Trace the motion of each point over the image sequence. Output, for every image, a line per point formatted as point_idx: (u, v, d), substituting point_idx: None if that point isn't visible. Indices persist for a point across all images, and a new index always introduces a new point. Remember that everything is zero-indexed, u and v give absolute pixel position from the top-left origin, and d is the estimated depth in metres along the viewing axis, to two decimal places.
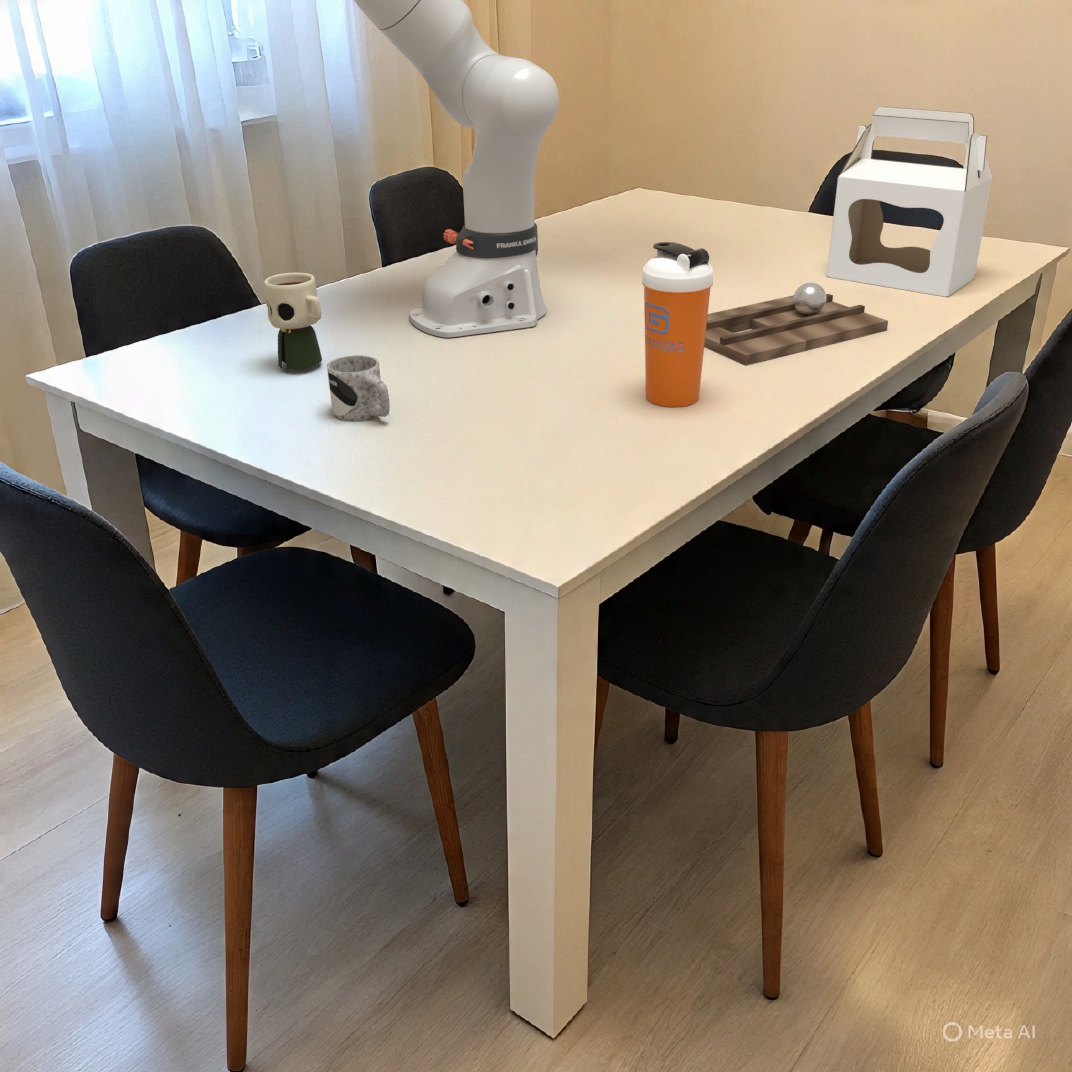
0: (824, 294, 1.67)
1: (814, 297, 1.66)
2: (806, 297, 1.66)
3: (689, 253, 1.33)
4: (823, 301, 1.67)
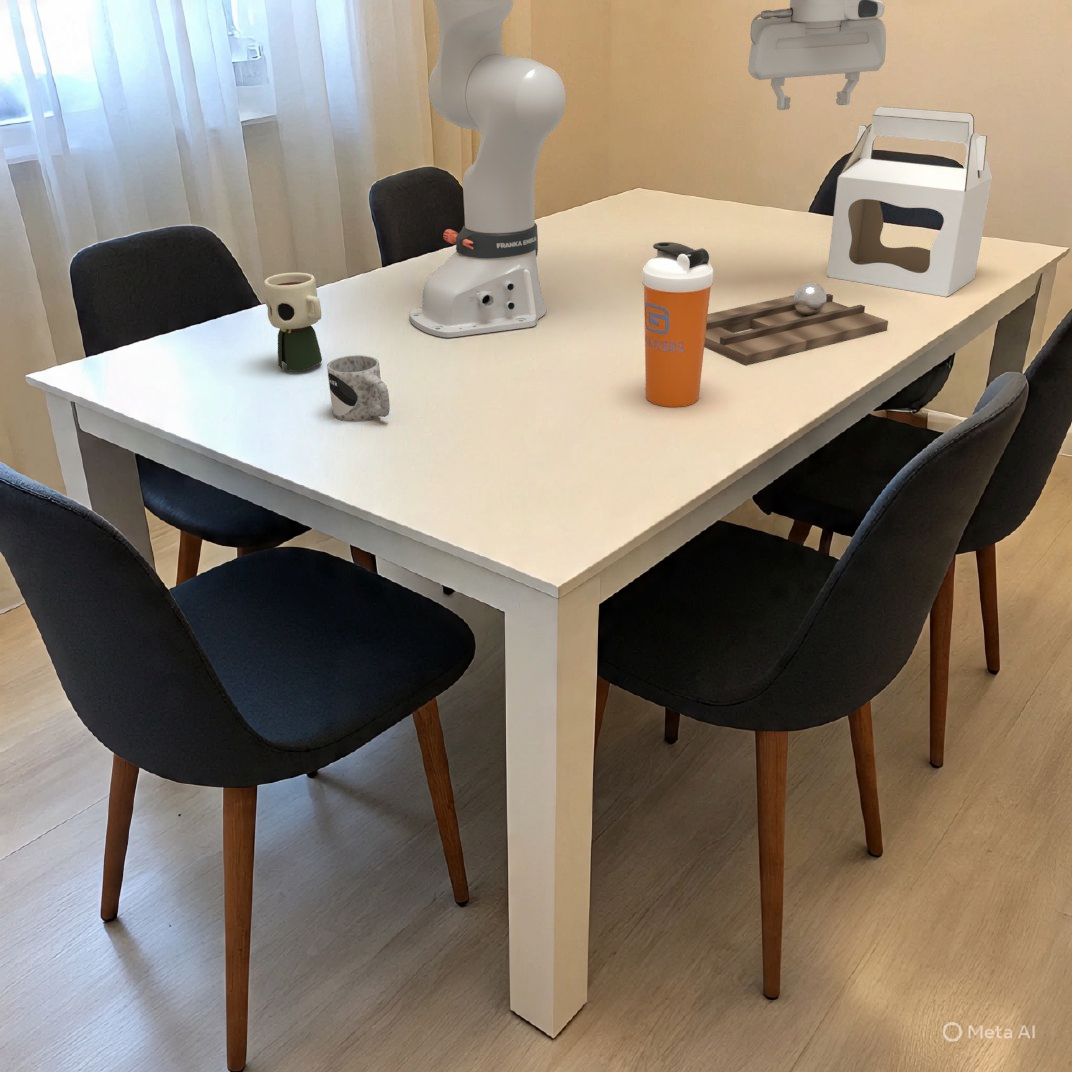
0: (824, 294, 1.67)
1: (814, 297, 1.66)
2: (806, 297, 1.66)
3: (689, 253, 1.33)
4: (823, 301, 1.67)
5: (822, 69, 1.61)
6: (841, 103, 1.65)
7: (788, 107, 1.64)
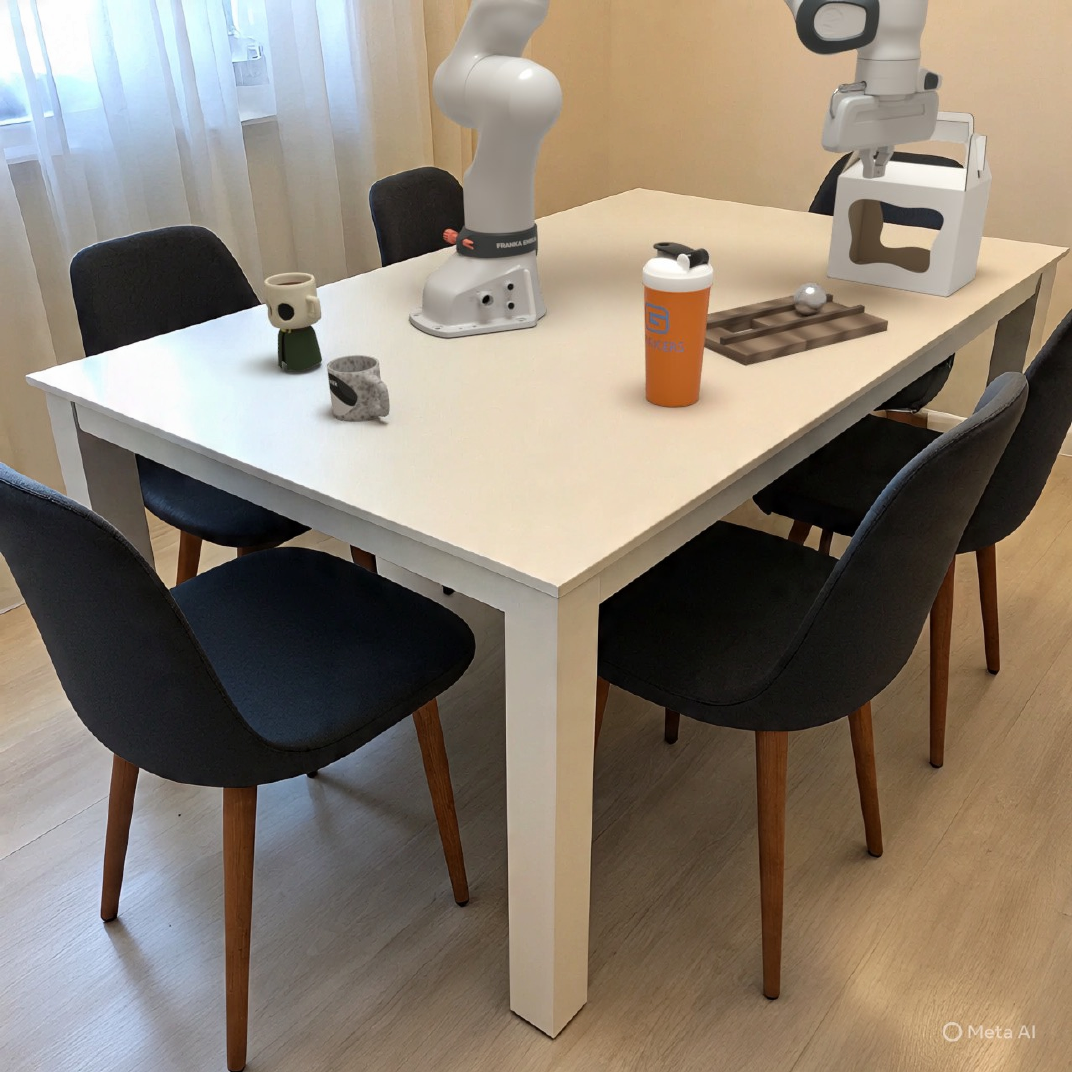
0: (824, 294, 1.67)
1: (814, 297, 1.66)
2: (806, 297, 1.66)
3: (689, 253, 1.33)
4: (823, 301, 1.67)
5: (888, 140, 1.61)
6: (878, 175, 1.64)
7: (876, 175, 1.64)
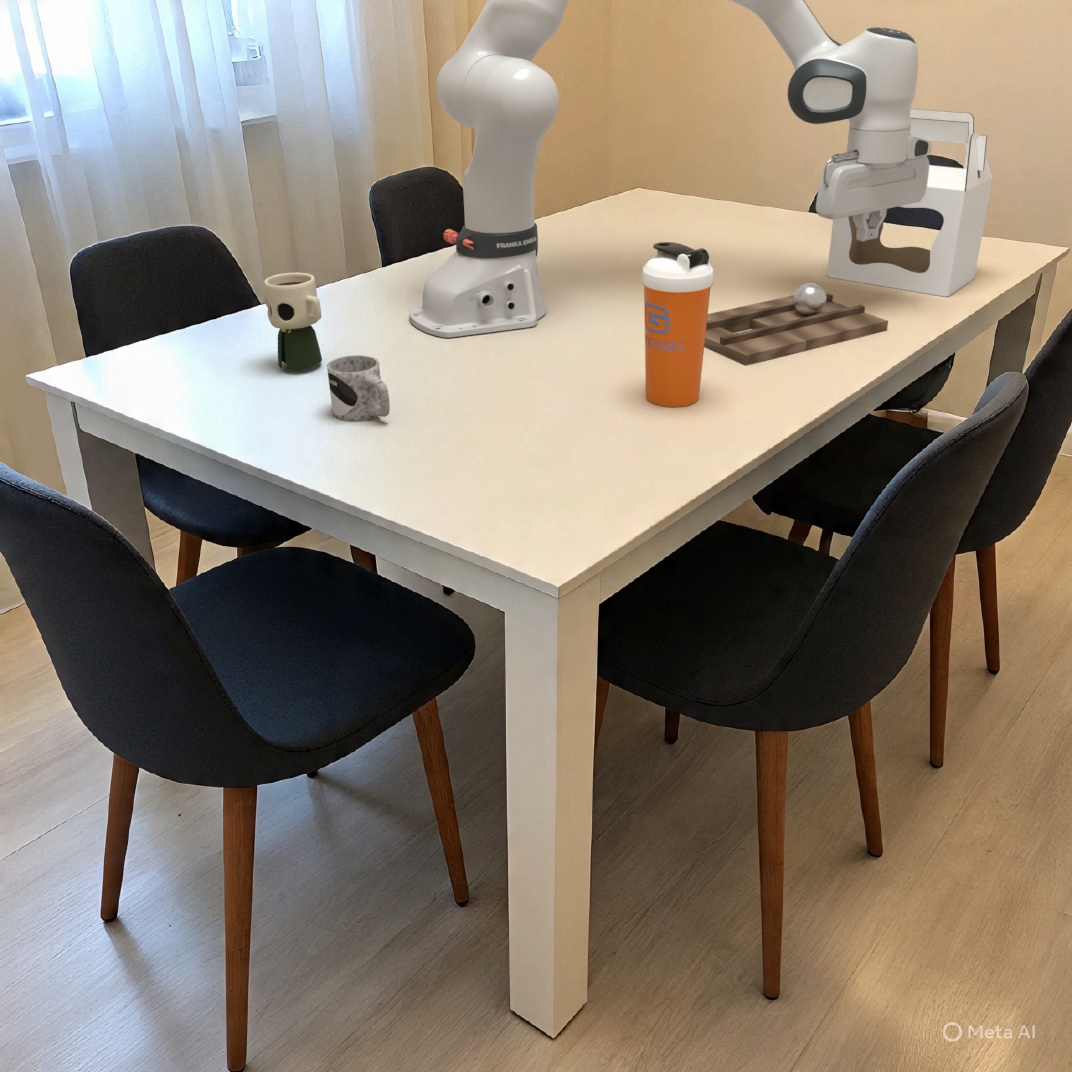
0: (824, 294, 1.67)
1: (814, 297, 1.66)
2: (806, 297, 1.66)
3: (689, 253, 1.33)
4: (823, 301, 1.67)
5: (881, 205, 1.66)
6: (871, 238, 1.69)
7: (870, 238, 1.69)
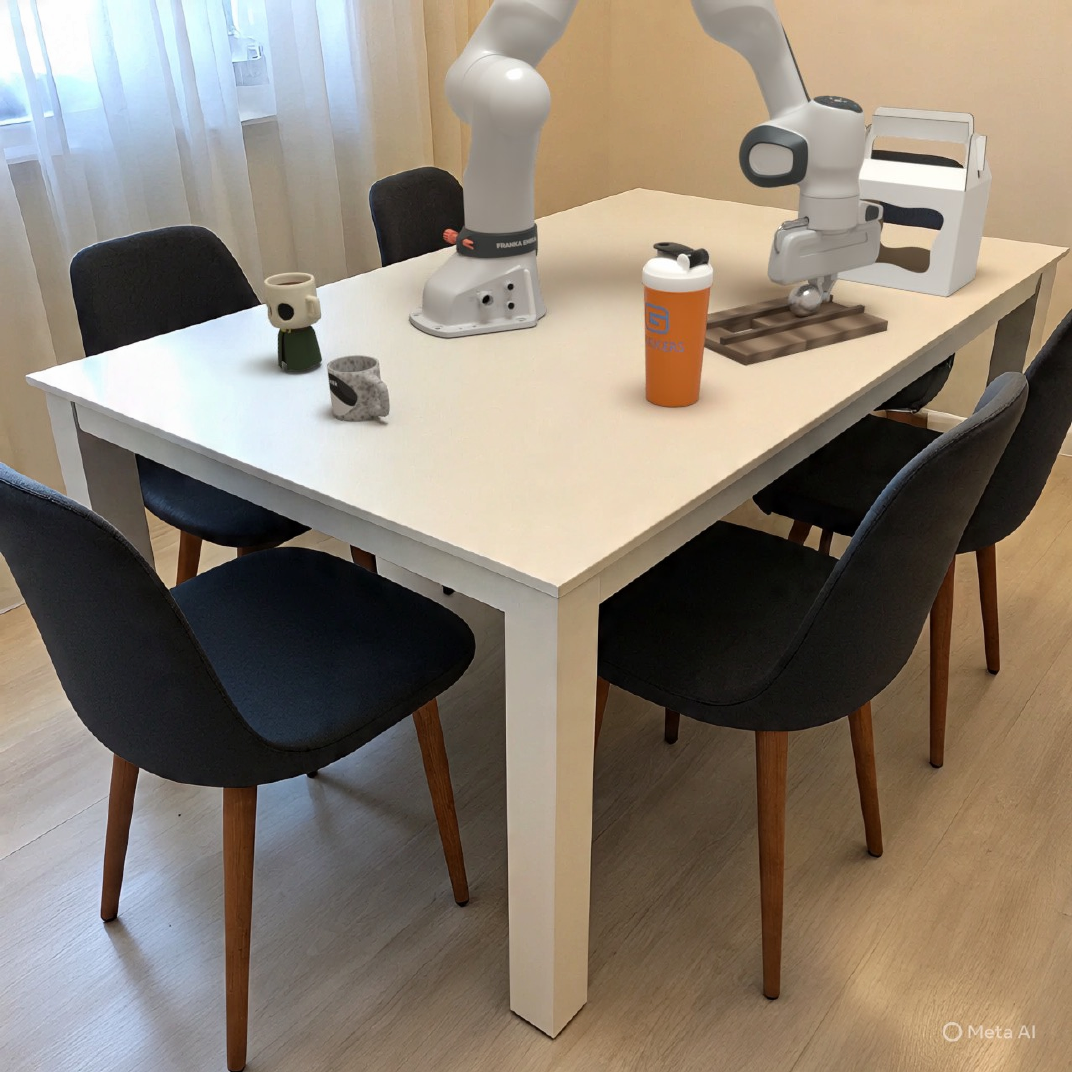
0: (816, 294, 1.66)
1: (806, 303, 1.66)
2: (799, 305, 1.66)
3: (689, 253, 1.33)
4: (817, 302, 1.66)
5: (833, 269, 1.66)
6: (823, 301, 1.69)
7: (825, 301, 1.69)
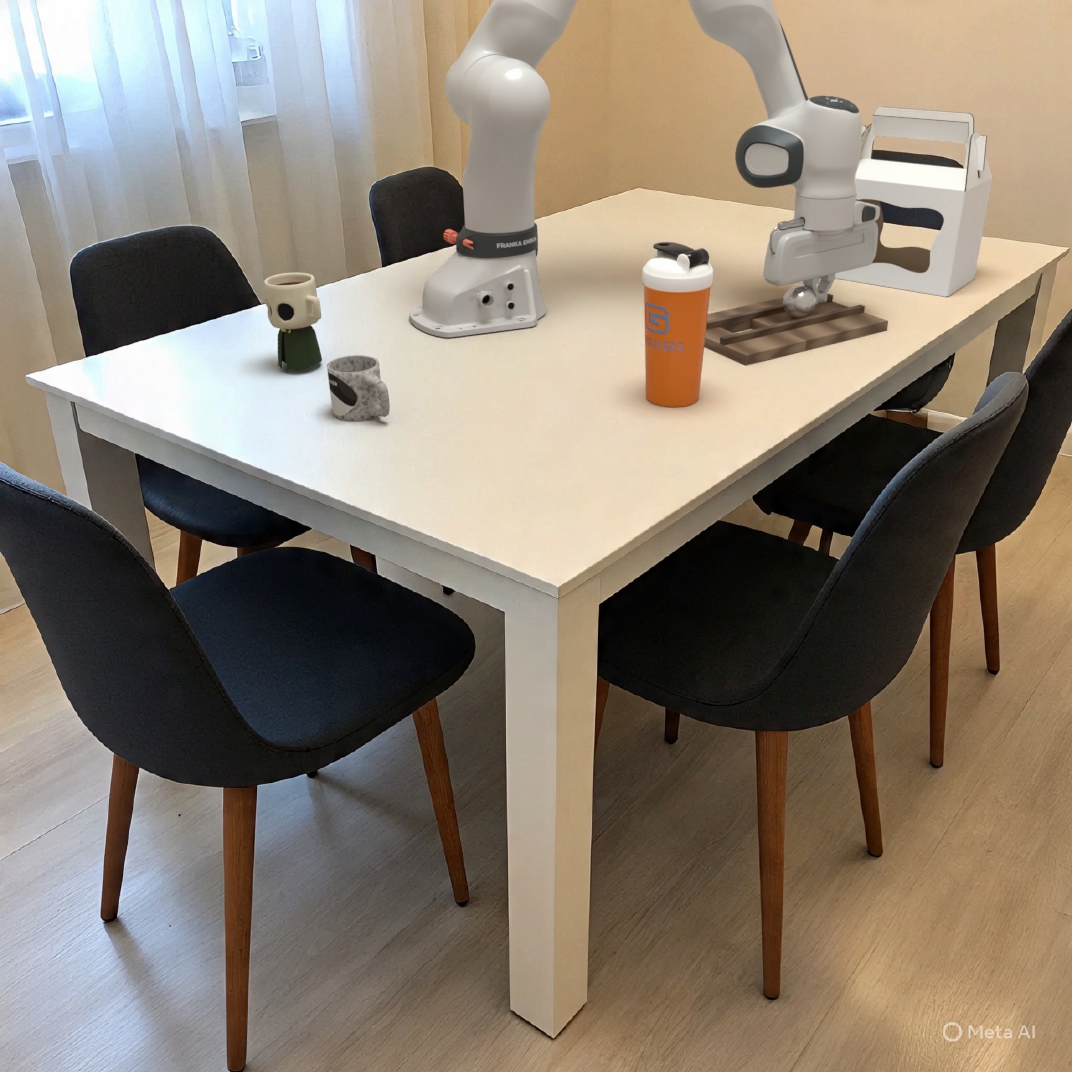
0: (808, 297, 1.65)
1: (801, 310, 1.66)
2: (795, 313, 1.66)
3: (689, 253, 1.33)
4: (812, 303, 1.66)
5: (829, 270, 1.66)
6: (820, 302, 1.69)
7: (821, 302, 1.69)
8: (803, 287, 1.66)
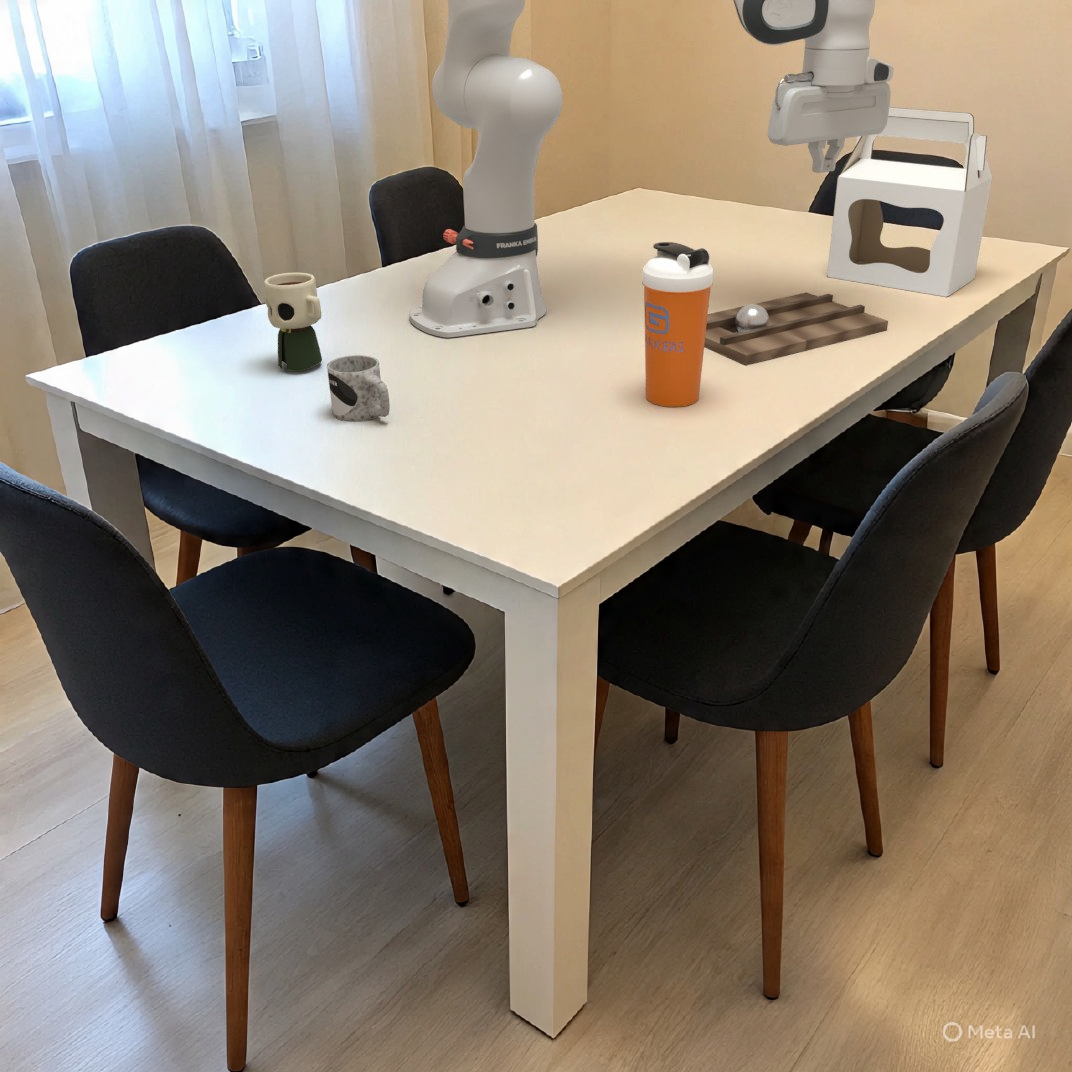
0: None
1: (765, 315, 1.63)
2: (762, 309, 1.63)
3: (689, 253, 1.33)
4: None
5: (838, 133, 1.56)
6: (828, 170, 1.59)
7: (826, 170, 1.59)
8: None
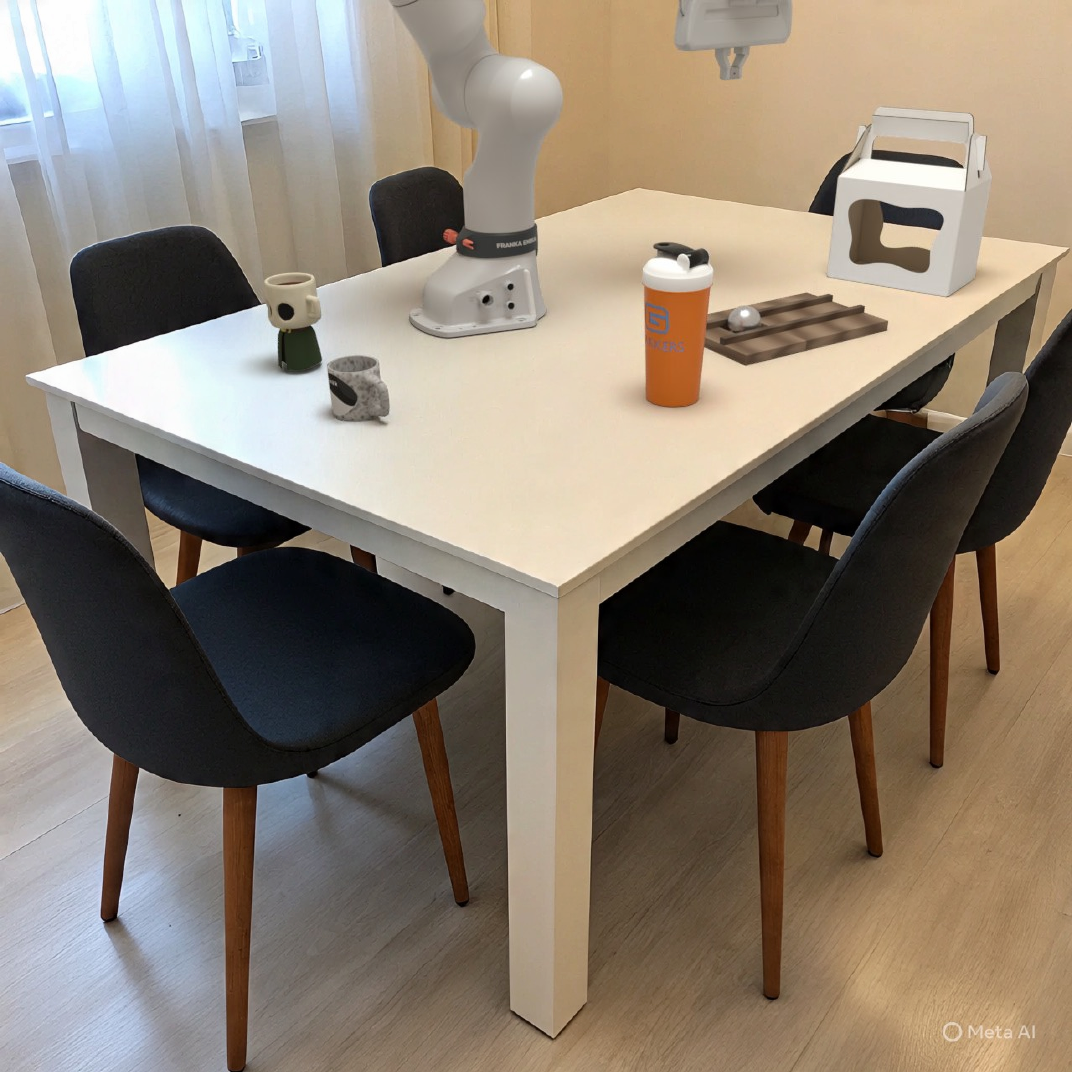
0: (759, 326, 1.63)
1: (753, 316, 1.62)
2: (747, 311, 1.62)
3: (689, 253, 1.33)
4: (755, 328, 1.62)
5: (742, 41, 1.64)
6: (734, 77, 1.67)
7: (733, 77, 1.67)
8: None
